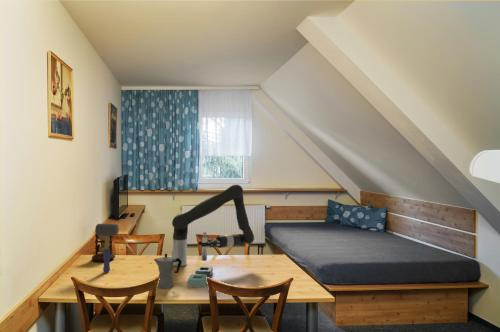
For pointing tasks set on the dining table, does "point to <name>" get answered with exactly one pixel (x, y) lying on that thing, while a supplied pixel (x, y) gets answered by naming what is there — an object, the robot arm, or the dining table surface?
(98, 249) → the dark brown lantern
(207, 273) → the socket block
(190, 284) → the rack block
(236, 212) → the robot arm
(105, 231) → the rubber mallet
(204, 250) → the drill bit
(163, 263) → the coffeepot
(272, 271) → the dining table surface
